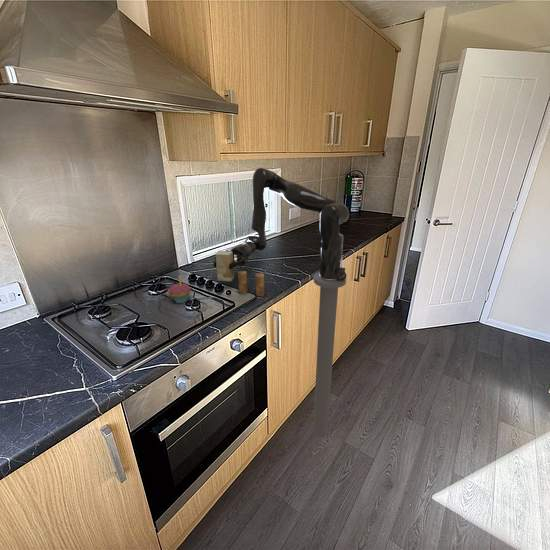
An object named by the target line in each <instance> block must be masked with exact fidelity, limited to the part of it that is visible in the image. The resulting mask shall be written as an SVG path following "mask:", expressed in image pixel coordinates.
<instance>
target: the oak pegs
mask: <svg viewBox="0 0 550 550" xmlns="http://www.w3.org/2000/svg"><path fill="white" fill-rule="evenodd" d="M247 274H248V272H247V271H246V270H238V271H237V280H238V292H239V293H240V294H246V293H248V292H249V291H248V290H249V289H248V275H247ZM254 278H255V279H254V280H255V295H256V297H264V296H265V294H266V290H265V287H266V286H265V274H264V273H263V272H257V273H255V275H254Z"/></svg>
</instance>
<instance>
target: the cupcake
mask: <svg viewBox="0 0 550 550" xmlns="http://www.w3.org/2000/svg"><path fill="white" fill-rule="evenodd" d="M178 278H179V279H178V280H179V283H178V282H177V283H174V284H173V285H171V286H169V288H168V290H167V293H168V295H169V296H170V297H171V298H173V299H174V302H175V303H177V304H184V303H186V302H187V301H188V300H189V296H190V293H191V291H192V289H191V287H190V285H188V283H187V284H186V283H182V276H181V275H179V276H178Z"/></svg>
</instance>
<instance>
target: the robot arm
mask: <svg viewBox="0 0 550 550" xmlns="http://www.w3.org/2000/svg"><path fill="white" fill-rule="evenodd" d="M265 190H266V191H271V192H274V193H276V194H278V195H280V196H281V197H282V198H283V199H284V200H285V201H286V202H287V203H289V204H290V205H293V206H295V207H297V208H299V209H303V210H307V211H312V212H317V213H319V234H320V237H321V241H320V242H321V245H320V261H319V262H320V263H319V272H320V278H321V279H323V280H326V281H339V279H340V277H343V276H344V275H345V276H344V277H343V278H342V279H341V280H344V279H345V278H346V279H347V273H346V267H343V260H344V259H343V249H344V245H343V244H344V234H343V233H340V225H342V224H343V223H346V222H347V221H348V219H349V217H350V211H349V209H348V207H347V206H346V205H345V204H344V203H342V202H340V201H337V200H334V199H331V198H328V197H326V196H323V195H321V194H319V193H317V192H315V191H314V190H311V189H310V188H307V187H306V186H303V185H302V184H299V183H297V182H294V181H292V180H291V181H290V180H287V179H285V178H284V177H282V176H281V175H279V174H277V173H276V172H275V171H272V170H270V169H267V168H264V167H258V168H257V169H255V171H254V172H253V176H252V200H253V201H252V218H251V224H250V225H251V226H250V228H251V230H252V231H253V232H256V233H257V235H255V234H250V235H248V236H247V237H246V239H245V240H244V241H243V242H242V243H239V244H238V245H236V246H234V247H233V248H231V249H230V251H231V252H233V262H232V263H230V264H229V269H233V270H234V268H238V267H240V268H241V267H244V266H245V265H246V264H248V259H249V258H250V257H251V256H252V255H253V254H254V253H256V252H257V251H264V250H265V249H266V248H267V237H266V224H267V208H266V205H265V200H264V193H265ZM213 267H214V268H217V266H216V256H215V257H214V261H213Z"/></svg>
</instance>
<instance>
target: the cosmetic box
mask: <svg viewBox="0 0 550 550" xmlns="http://www.w3.org/2000/svg"><path fill="white" fill-rule="evenodd" d="M215 257H216V266H217V267H216V276H217V278H216V279H217V281H220V282H232V281H233V280H234V278H235V275H234V274H235V272H234V271H235V269H234V268H233V269H229V264H230V263H232V262H233V252H231V250H229V251H227V250H218V251H217V252H216V253H215Z"/></svg>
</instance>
